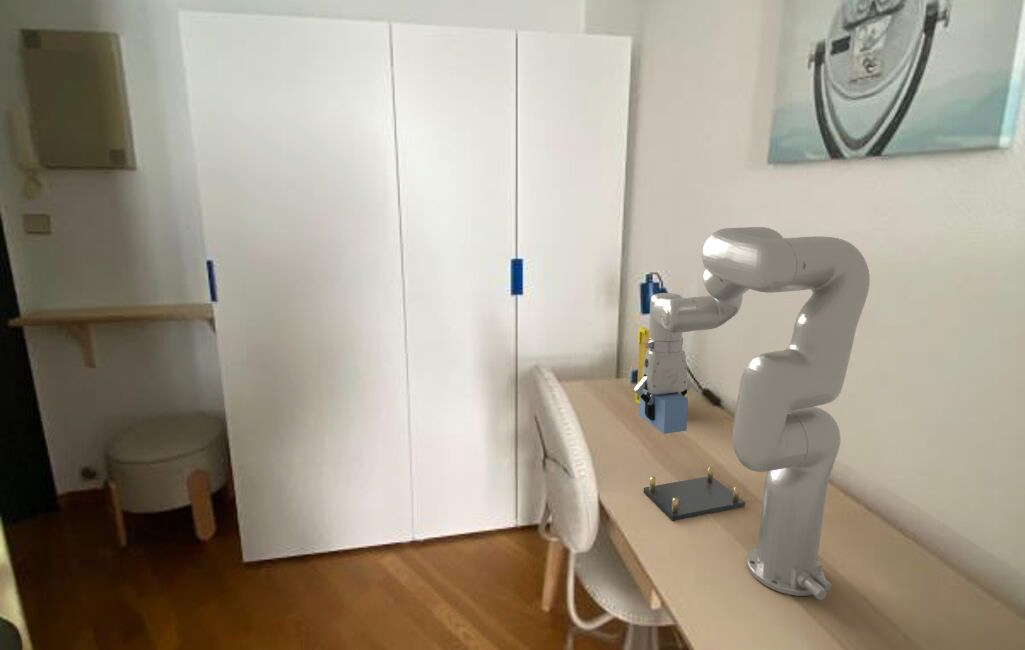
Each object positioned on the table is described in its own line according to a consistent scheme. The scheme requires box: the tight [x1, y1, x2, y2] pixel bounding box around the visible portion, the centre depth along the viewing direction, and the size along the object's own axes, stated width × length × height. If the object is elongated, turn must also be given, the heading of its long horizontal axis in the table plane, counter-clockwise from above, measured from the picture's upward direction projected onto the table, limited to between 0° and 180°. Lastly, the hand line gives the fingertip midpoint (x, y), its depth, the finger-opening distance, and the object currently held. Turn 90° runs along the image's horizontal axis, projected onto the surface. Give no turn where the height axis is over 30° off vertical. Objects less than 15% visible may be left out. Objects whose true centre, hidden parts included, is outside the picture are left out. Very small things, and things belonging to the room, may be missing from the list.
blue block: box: [638, 389, 689, 435], centre depth 133 cm, size 12×6×8 cm, turn 15°
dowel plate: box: [643, 466, 746, 522], centre depth 123 cm, size 12×18×4 cm, turn 106°
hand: (662, 416), depth 134 cm, fingers closed on blue block, 6 cm apart
